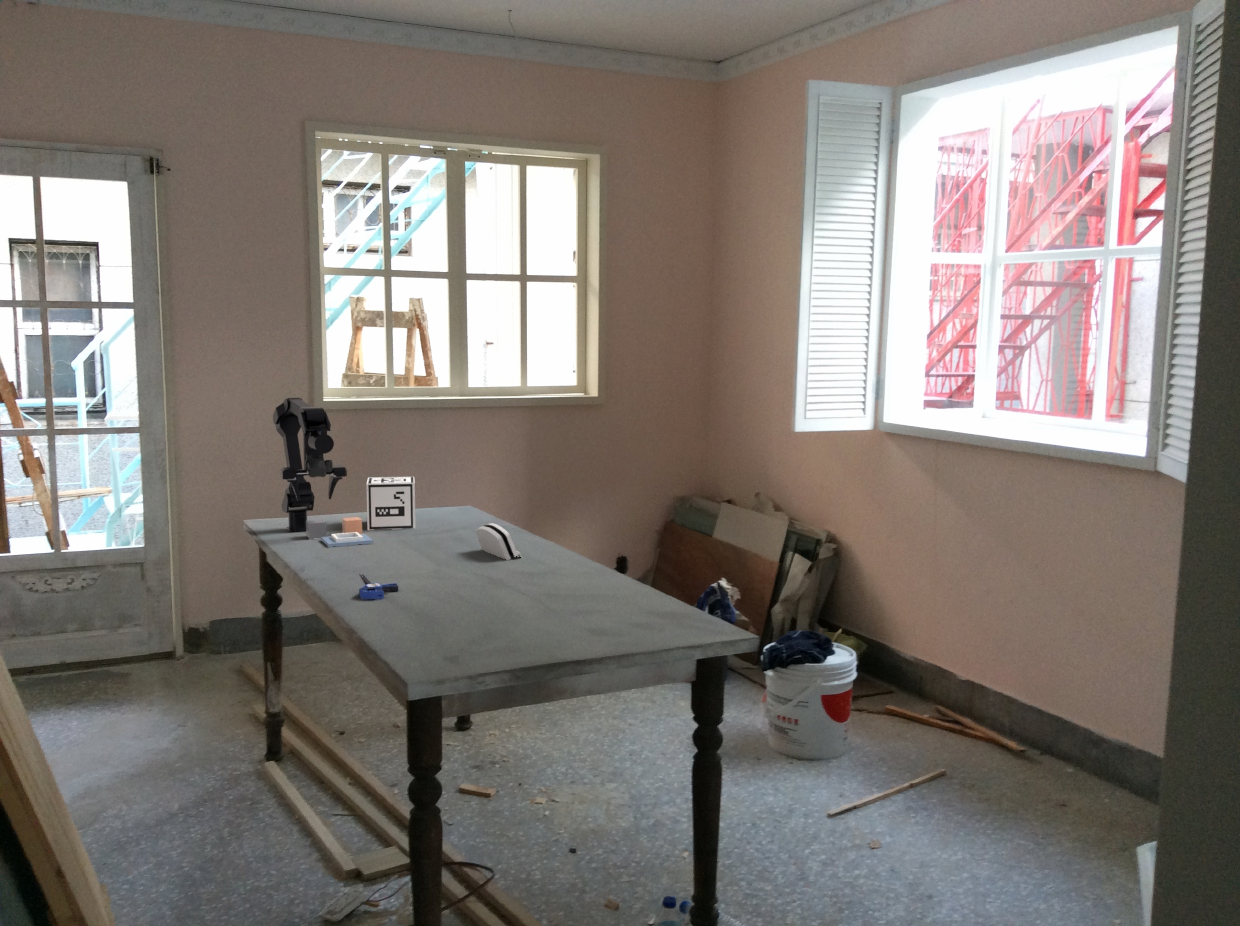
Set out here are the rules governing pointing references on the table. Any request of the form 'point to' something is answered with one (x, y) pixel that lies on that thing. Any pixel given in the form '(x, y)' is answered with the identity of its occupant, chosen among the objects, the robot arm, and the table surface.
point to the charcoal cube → (315, 529)
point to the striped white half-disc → (496, 541)
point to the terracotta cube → (352, 525)
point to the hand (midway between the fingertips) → (314, 500)
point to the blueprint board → (346, 539)
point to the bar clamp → (375, 589)
